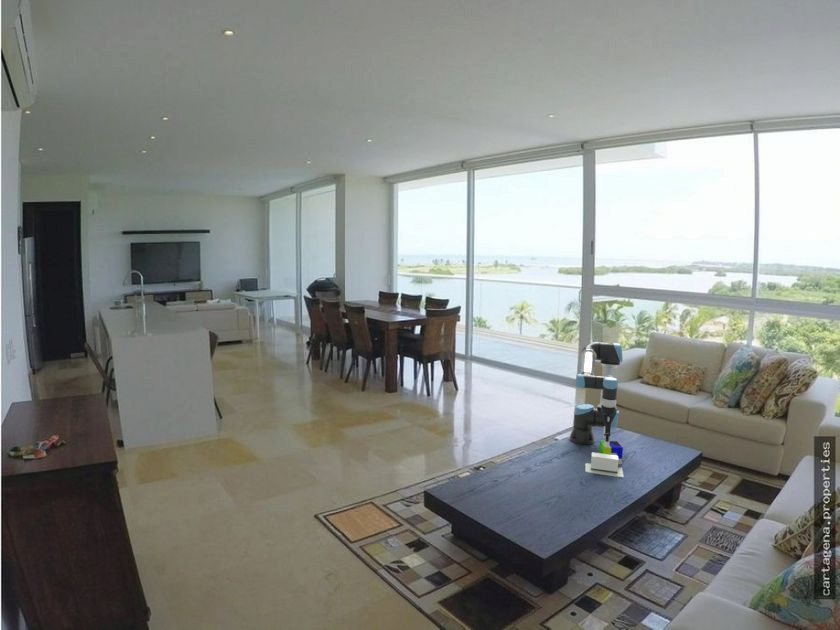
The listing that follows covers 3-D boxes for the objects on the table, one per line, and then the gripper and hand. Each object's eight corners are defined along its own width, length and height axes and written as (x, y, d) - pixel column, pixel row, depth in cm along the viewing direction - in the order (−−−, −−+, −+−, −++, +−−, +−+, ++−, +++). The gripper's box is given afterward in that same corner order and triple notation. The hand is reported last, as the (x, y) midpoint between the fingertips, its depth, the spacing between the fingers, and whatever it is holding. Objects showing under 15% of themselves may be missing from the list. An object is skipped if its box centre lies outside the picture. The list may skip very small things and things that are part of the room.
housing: (591, 468, 294) (591, 456, 292) (590, 463, 299) (591, 452, 298) (617, 471, 289) (618, 459, 288) (616, 467, 295) (617, 455, 294)
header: (585, 463, 303) (586, 452, 302) (622, 468, 297) (622, 457, 296) (585, 472, 292) (586, 461, 291) (623, 477, 286) (624, 466, 285)
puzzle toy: (621, 464, 304) (622, 447, 302) (604, 463, 304) (605, 447, 302) (615, 457, 313) (616, 441, 312) (598, 456, 314) (600, 440, 312)
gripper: (600, 398, 302) (598, 433, 305) (602, 412, 278) (599, 449, 282) (614, 399, 300) (612, 434, 303) (617, 413, 276) (614, 451, 280)
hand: (606, 442), depth 292 cm, fingers open, 13 cm apart
